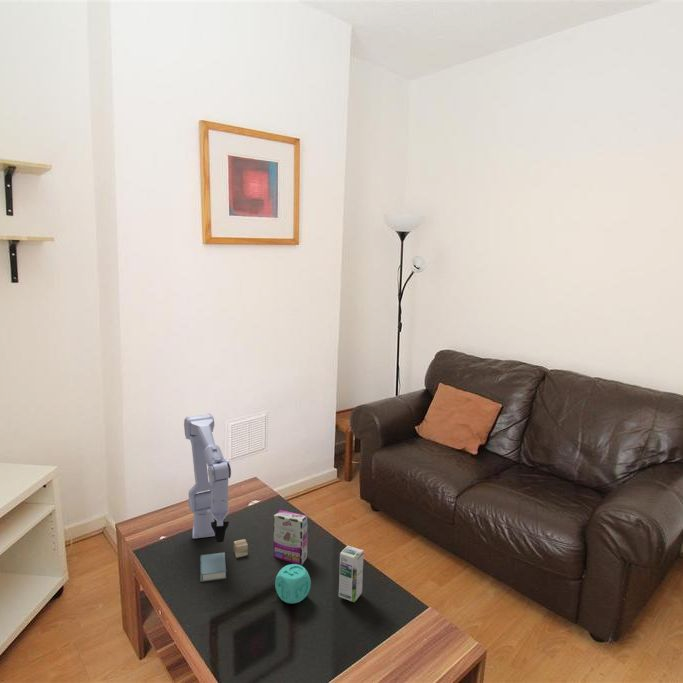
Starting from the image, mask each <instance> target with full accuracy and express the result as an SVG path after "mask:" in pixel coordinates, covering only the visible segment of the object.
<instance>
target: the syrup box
mask: <svg viewBox="0 0 683 683" xmlns="http://www.w3.org/2000/svg"><path fill="white" fill-rule="evenodd" d="M363 571H364V549H361V548H360V549H359V548H357V547H354V546H350V545H346V546H345V548H344V549H342V551H341V552H339V578H338V580H339V581H338V583H339V584H338V597H339V598H341V599H344V600H348V601H349V602H353V603H355V602H356V601H357V600H358V598H359V597H360V596H361V594H362V593H363V580H364V578H363V574H364V572H363Z"/></svg>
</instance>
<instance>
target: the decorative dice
mask: <svg viewBox="0 0 683 683" xmlns="http://www.w3.org/2000/svg"><path fill="white" fill-rule="evenodd" d="M310 576H311V575H310V574H309V572H308V570H307V569H306V568H305V567H304V566H303V565H298V564H295V563H292V564H287V565H285V566H283V567H282V568H280V570H279V571H278V573H277V575H276V577H275V581H274V587H275V591H276V594H277V595H278V598H280V600H281V601H282V602H284V603H287V604H297V603H300V602H301V601H303V600H304V599H306V597H307V596H308V595H309V593H310V589H311V584H312V580H311V577H310Z"/></svg>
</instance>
